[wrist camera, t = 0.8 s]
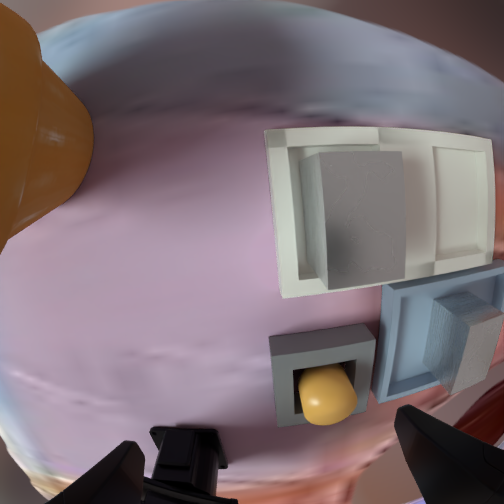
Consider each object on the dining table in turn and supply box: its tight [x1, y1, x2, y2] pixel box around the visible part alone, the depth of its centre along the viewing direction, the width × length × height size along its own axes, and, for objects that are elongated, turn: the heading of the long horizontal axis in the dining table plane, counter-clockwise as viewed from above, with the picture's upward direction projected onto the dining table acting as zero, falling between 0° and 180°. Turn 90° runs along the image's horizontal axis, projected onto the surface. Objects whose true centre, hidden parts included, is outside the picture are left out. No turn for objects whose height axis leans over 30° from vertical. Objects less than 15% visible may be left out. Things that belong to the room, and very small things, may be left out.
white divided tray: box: [264, 126, 495, 299], centre depth 17 cm, size 10×17×2 cm, turn 96°
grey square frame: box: [269, 323, 376, 427], centre depth 19 cm, size 7×7×2 cm
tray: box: [372, 259, 504, 404], centre depth 19 cm, size 10×13×2 cm
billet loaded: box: [299, 151, 406, 290], centre depth 14 cm, size 6×4×5 cm, turn 6°
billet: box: [422, 291, 504, 395], centre depth 17 cm, size 6×4×5 cm, turn 6°
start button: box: [297, 363, 357, 425], centre depth 18 cm, size 4×4×3 cm
